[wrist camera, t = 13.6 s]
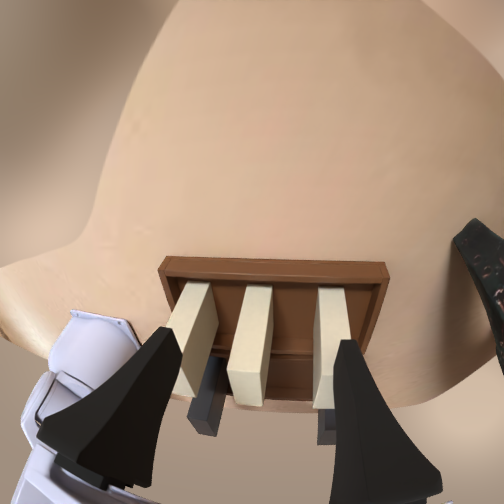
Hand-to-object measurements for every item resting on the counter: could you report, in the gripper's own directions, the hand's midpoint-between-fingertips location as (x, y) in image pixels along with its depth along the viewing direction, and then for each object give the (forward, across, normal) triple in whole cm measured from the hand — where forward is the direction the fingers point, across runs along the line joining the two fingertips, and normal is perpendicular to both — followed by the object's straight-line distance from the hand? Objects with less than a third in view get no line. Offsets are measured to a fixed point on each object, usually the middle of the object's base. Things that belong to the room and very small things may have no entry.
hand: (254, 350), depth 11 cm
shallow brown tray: (+10, 0, +7) cm, 12 cm away
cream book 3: (+10, -4, +7) cm, 12 cm away
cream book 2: (+10, +1, +7) cm, 12 cm away
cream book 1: (+10, +6, +7) cm, 13 cm away
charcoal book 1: (+10, +6, +17) cm, 20 cm away
